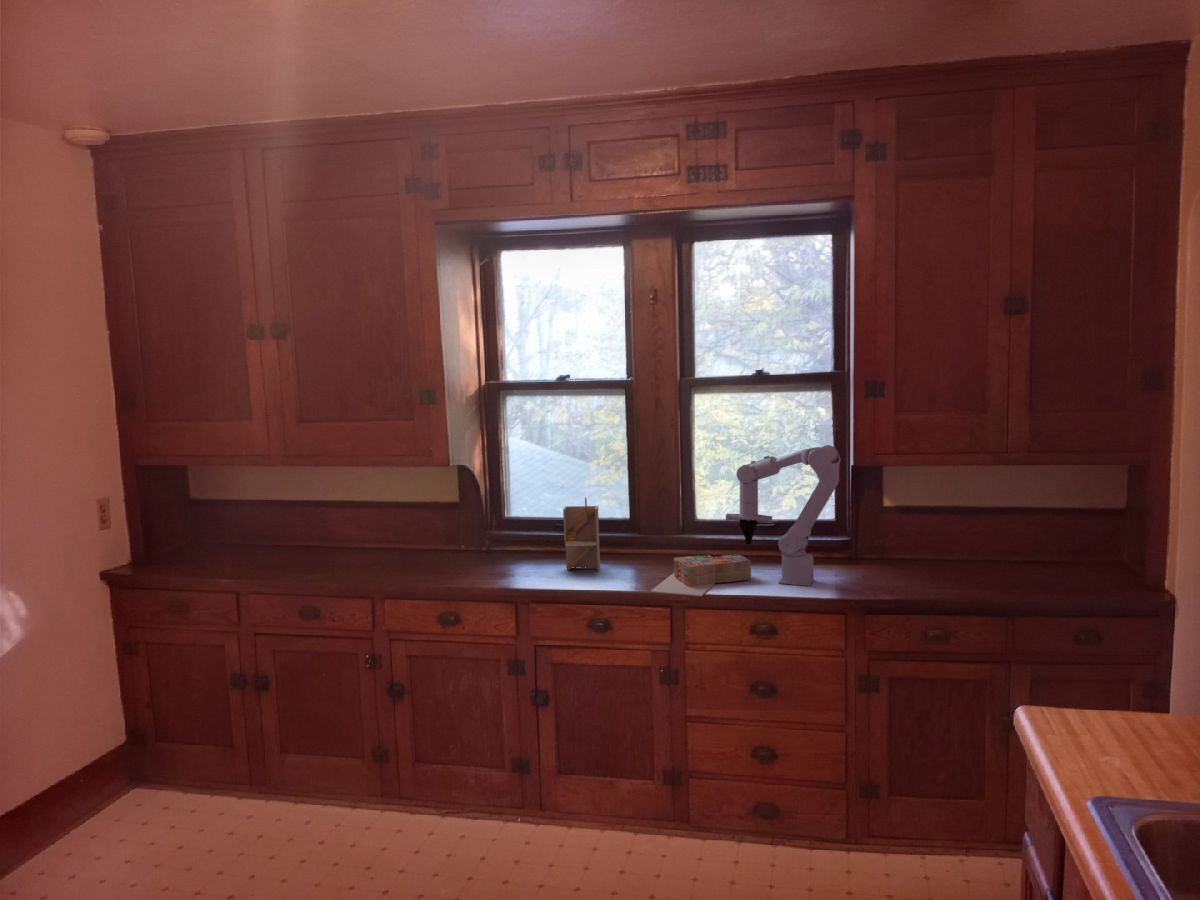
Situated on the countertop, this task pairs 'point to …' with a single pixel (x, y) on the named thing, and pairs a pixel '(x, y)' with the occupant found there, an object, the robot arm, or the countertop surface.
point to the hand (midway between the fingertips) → (748, 543)
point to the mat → (680, 587)
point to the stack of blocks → (711, 569)
